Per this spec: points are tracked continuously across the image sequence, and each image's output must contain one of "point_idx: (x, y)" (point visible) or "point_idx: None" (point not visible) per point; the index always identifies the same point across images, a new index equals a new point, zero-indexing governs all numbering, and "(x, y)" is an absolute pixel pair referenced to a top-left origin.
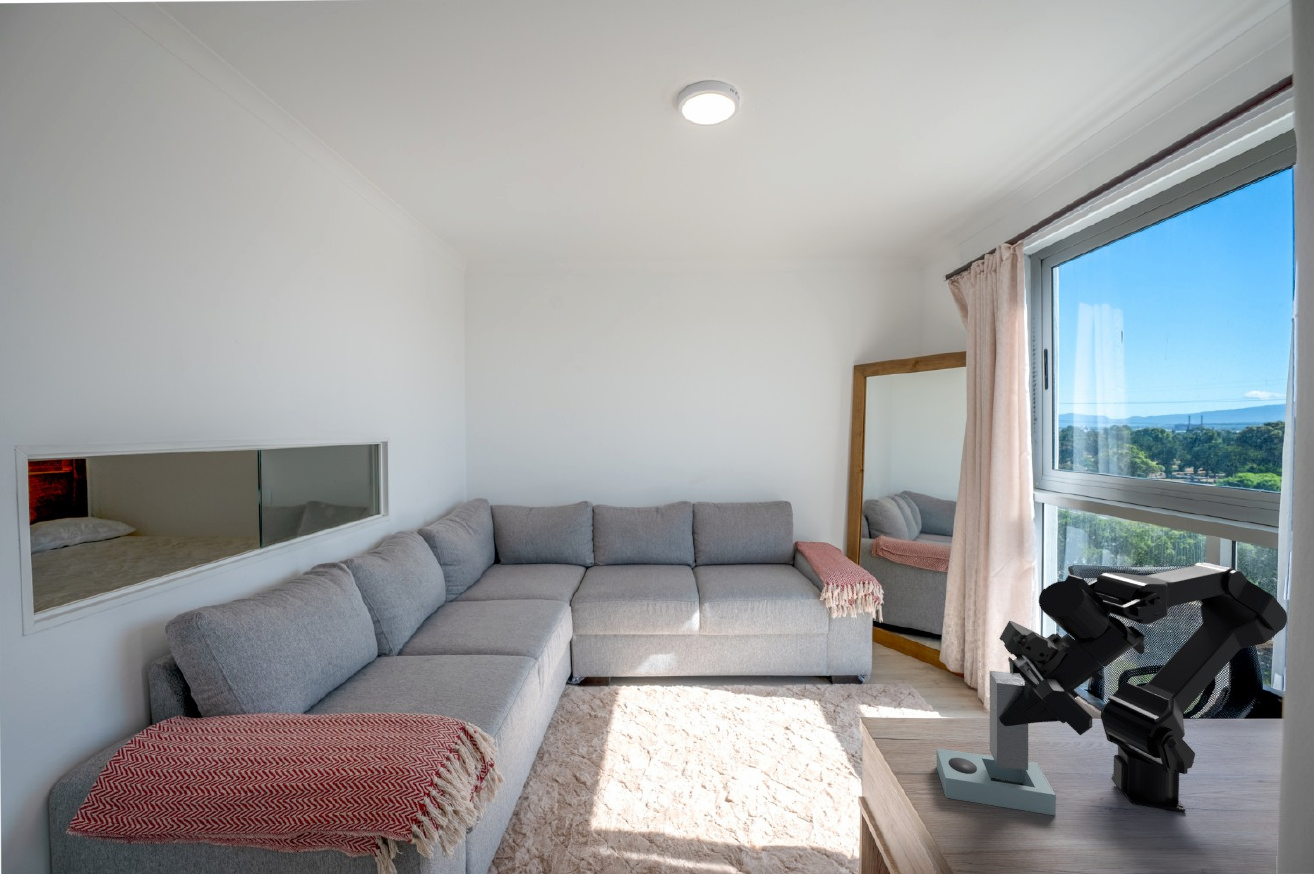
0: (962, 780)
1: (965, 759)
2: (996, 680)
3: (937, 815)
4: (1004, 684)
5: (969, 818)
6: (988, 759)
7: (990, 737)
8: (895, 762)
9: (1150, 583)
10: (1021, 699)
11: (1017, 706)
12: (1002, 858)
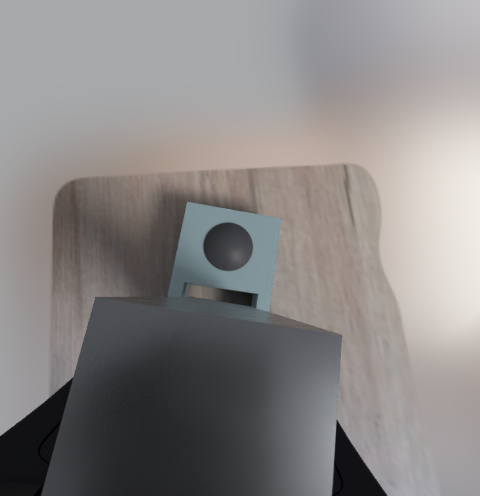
0: (182, 228)
1: (247, 258)
2: (142, 314)
3: (152, 189)
4: (79, 361)
5: (147, 233)
6: (256, 306)
7: (247, 306)
8: (278, 169)
9: None
10: (52, 437)
11: (66, 384)
12: (62, 246)
